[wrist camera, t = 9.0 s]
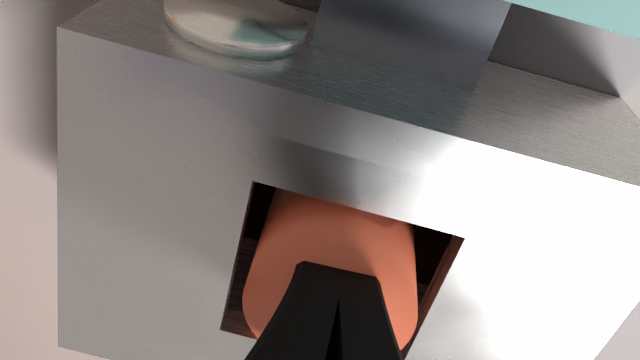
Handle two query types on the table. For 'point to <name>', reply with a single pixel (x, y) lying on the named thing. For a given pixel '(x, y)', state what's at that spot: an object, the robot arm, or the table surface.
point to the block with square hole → (327, 183)
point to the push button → (331, 256)
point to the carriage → (594, 13)
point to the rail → (414, 35)
